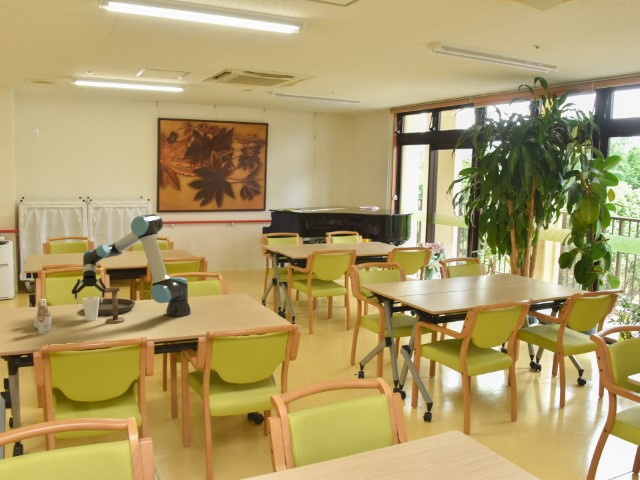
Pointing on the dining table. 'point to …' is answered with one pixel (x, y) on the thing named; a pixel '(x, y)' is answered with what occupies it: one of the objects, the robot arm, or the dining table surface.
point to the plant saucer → (106, 306)
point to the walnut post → (114, 306)
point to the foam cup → (91, 308)
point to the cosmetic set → (43, 318)
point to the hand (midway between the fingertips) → (89, 302)
